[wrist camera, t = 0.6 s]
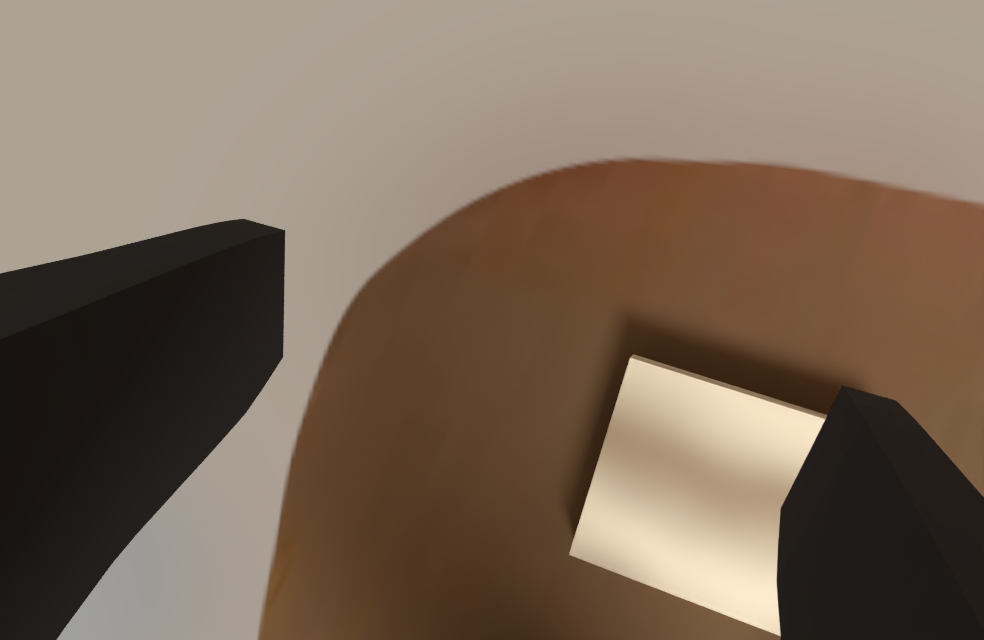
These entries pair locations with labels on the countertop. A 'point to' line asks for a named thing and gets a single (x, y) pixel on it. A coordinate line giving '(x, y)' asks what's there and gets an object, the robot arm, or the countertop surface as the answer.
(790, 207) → the countertop surface
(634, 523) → the cream block
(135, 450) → the robot arm
